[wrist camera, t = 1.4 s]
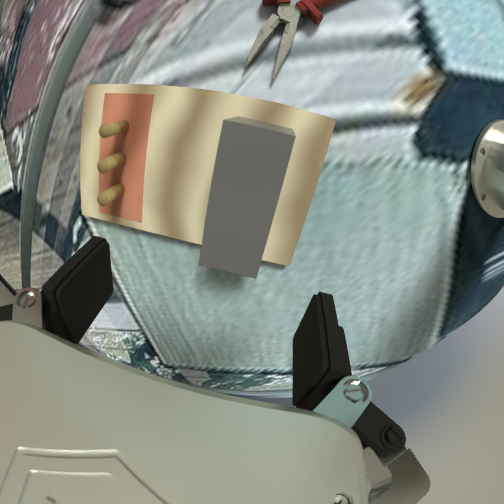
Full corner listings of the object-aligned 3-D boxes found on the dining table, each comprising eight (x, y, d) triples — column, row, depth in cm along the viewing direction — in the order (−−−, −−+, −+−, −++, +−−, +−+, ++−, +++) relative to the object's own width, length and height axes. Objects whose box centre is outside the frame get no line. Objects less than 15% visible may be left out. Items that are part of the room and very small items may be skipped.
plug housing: (237, 116, 22) (223, 119, 17) (292, 128, 22) (295, 136, 17) (215, 231, 28) (198, 264, 23) (262, 243, 29) (256, 278, 23)
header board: (333, 118, 23) (344, 122, 18) (288, 259, 31) (289, 286, 27) (94, 84, 22) (65, 86, 18) (88, 210, 30) (65, 227, 26)
